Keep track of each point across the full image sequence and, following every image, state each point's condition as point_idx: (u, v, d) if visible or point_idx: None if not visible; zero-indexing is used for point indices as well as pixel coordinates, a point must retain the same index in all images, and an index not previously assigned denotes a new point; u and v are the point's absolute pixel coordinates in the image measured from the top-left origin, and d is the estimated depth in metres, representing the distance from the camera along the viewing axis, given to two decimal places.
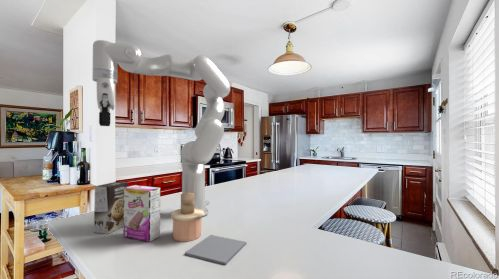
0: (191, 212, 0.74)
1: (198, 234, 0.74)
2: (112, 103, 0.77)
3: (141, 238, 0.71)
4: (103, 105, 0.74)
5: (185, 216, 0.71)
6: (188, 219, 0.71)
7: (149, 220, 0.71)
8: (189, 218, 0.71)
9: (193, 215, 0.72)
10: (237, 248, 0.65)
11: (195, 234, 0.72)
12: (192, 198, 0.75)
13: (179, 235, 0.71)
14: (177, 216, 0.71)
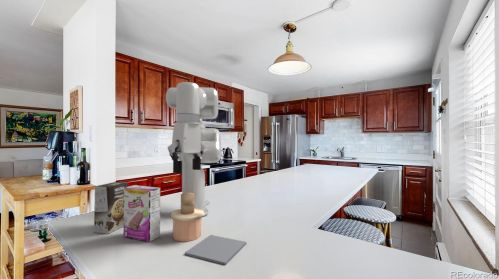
0: (191, 212, 0.74)
1: (198, 234, 0.74)
2: None
3: (141, 238, 0.71)
4: None
5: (185, 216, 0.71)
6: (188, 219, 0.71)
7: (149, 220, 0.71)
8: (189, 218, 0.71)
9: (193, 215, 0.72)
10: (237, 248, 0.65)
11: (195, 234, 0.72)
12: (192, 198, 0.75)
13: (179, 235, 0.71)
14: (177, 216, 0.71)
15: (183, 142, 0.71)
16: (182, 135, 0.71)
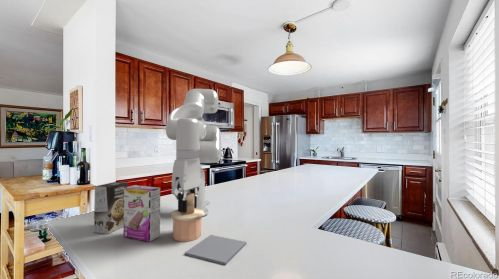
0: (191, 212, 0.74)
1: (198, 234, 0.74)
2: None
3: (141, 238, 0.71)
4: None
5: (185, 216, 0.71)
6: (188, 219, 0.71)
7: (149, 220, 0.71)
8: (189, 218, 0.71)
9: (193, 215, 0.72)
10: (237, 248, 0.65)
11: (195, 234, 0.72)
12: (192, 198, 0.75)
13: (179, 235, 0.71)
14: (177, 216, 0.71)
15: (183, 180, 0.71)
16: (182, 172, 0.71)
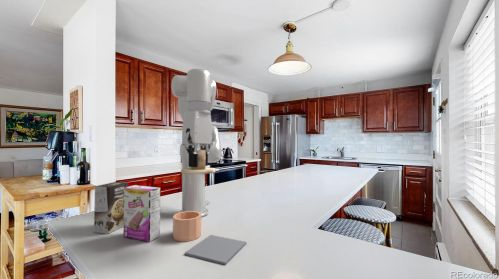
0: (202, 168, 0.70)
1: (198, 234, 0.74)
2: None
3: (141, 238, 0.71)
4: None
5: (196, 170, 0.67)
6: (199, 172, 0.66)
7: (149, 220, 0.71)
8: (200, 171, 0.67)
9: (205, 170, 0.68)
10: (237, 248, 0.65)
11: (195, 234, 0.72)
12: (203, 153, 0.71)
13: (179, 235, 0.71)
14: (188, 170, 0.67)
15: (194, 131, 0.67)
16: (193, 123, 0.67)
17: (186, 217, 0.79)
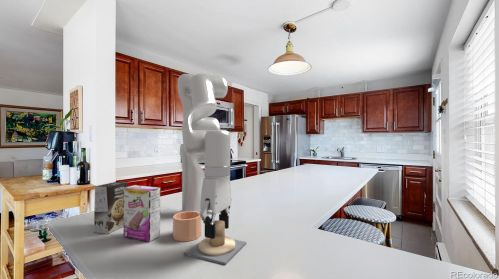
0: (222, 244, 0.65)
1: (198, 234, 0.74)
2: None
3: (141, 238, 0.71)
4: None
5: (216, 250, 0.62)
6: (220, 254, 0.61)
7: (149, 220, 0.71)
8: (221, 252, 0.61)
9: (225, 249, 0.63)
10: (237, 248, 0.65)
11: (195, 234, 0.72)
12: (223, 228, 0.65)
13: (179, 235, 0.71)
14: (207, 250, 0.62)
15: (214, 201, 0.61)
16: (213, 193, 0.61)
17: (186, 217, 0.79)
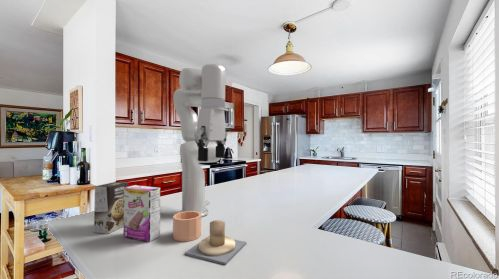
0: (222, 244, 0.65)
1: (198, 234, 0.74)
2: None
3: (141, 238, 0.71)
4: None
5: (216, 250, 0.62)
6: (220, 254, 0.61)
7: (149, 220, 0.71)
8: (221, 252, 0.61)
9: (226, 249, 0.63)
10: (237, 248, 0.65)
11: (195, 234, 0.72)
12: (223, 228, 0.65)
13: (179, 235, 0.71)
14: (207, 250, 0.62)
15: (209, 128, 0.67)
16: (208, 121, 0.67)
17: (186, 217, 0.79)
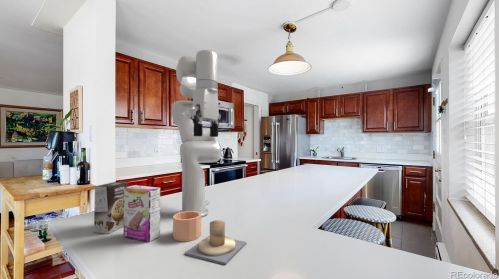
0: (222, 244, 0.65)
1: (198, 234, 0.74)
2: None
3: (141, 238, 0.71)
4: None
5: (216, 250, 0.62)
6: (220, 254, 0.61)
7: (149, 220, 0.71)
8: (221, 252, 0.61)
9: (226, 249, 0.63)
10: (237, 248, 0.65)
11: (195, 234, 0.72)
12: (223, 228, 0.65)
13: (179, 235, 0.71)
14: (207, 250, 0.62)
15: (203, 106, 0.74)
16: (202, 100, 0.74)
17: (186, 217, 0.79)
